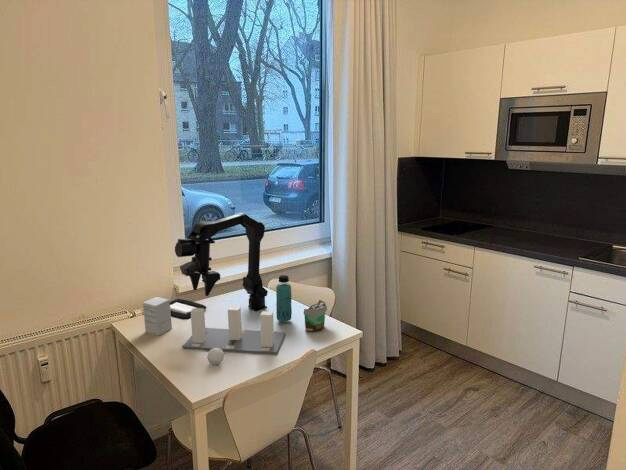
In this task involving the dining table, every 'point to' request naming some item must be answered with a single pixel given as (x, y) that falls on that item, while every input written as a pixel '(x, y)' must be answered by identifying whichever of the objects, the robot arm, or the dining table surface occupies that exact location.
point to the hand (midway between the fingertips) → (200, 292)
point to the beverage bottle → (283, 299)
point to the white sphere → (215, 356)
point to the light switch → (183, 308)
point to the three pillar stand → (248, 343)
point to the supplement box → (157, 315)
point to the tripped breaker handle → (234, 323)
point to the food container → (315, 317)
